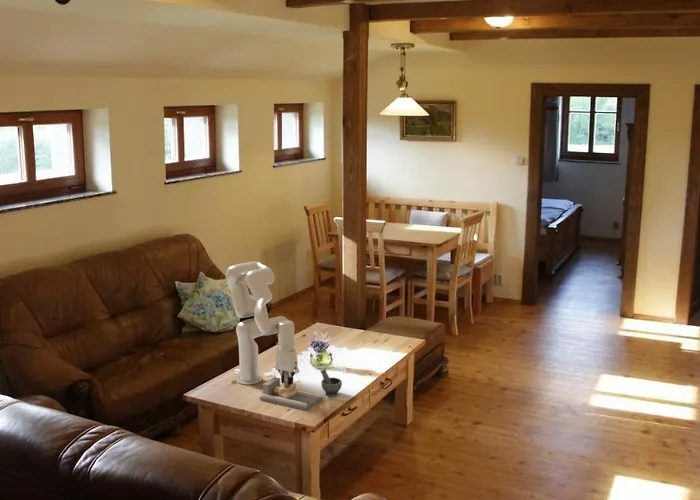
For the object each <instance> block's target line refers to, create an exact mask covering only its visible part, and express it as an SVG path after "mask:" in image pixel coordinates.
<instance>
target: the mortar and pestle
mask: <svg viewBox="0 0 700 500" xmlns="http://www.w3.org/2000/svg"><path fill="white" fill-rule="evenodd" d="M320 373H321V376H322V380H321V381H320V383H321V388H322V389H323V391H324V395H325V396H326V397H328V398H335V397H337V396H339V391H340V390H341V388H342V385H343V381H342V379H340V378H337V377H330V376H329V374H328V372H327V369H325V368H324V369H321V370H320Z"/></svg>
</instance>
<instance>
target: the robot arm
mask: <svg viewBox="0 0 700 500" xmlns="http://www.w3.org/2000/svg"><path fill="white" fill-rule="evenodd" d="M275 278H276V277H275V273H274V272H273V270H272V269H271V268H270V267H269V266H267V265H265V264H262V263H261V262H259V261H249V262H243V263H237V264H234V265H231V266H229V267H228V268H227V269H226V272H225V280H226V283H227V286H228V288H229V290H230V293H231V298H232V303H233V308H234V311H235V314H236V316H237V317H238V318H241V319H245V318H249V317H253V316H254V318H249V319H245V320H242V321H241V322H239V323H238V324H237V325H236V328H235V329H236V330H235V331H236V337H237V341H238V357H239V360H238V361H239V369H237V368H236V369H235V370H234V372H233V374H234V375H237V378H236V381H237V383H238V384H241V385H245V386H246V385H256V384H258V383H261V382H262V380H263V376H262V375H260V372H259V368H260V367H259V346H258V343H257V342H256V341H255V340H254V339H256V338H258V337H262V336H270V335H275V334H277V337H278V342H276V346H278V347H277V349H276V354H275V360H274V362H275V366H274V369H275V370H276V371H277V372H278V373H279V375H280V383H281V385H284V371H287V372H289V377H288V385H291V384H292V383H294V376H295V375H296V374H299V373H300V369H299V367H298V355H297V350H296V348H295V347H296V346H295V345H296V344H295V323H294V322H293V320H289V319H288V318H287V317H286V316H284V315H283V316H282V315H278V316H275V317H270V318H269V313H268V309H267V304H268V303H269V302H271V300H272V299H273V294H272V292H271V289H270V288H269V285H272V284H273V283H274V282H275ZM244 281H245V282H246V284H247V285H246V284H245V283H244ZM247 286H248V287H247ZM249 290H250V292H251V295H252V296H250V292H249Z"/></svg>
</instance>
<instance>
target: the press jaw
mask: <svg viewBox="0 0 700 500" xmlns="http://www.w3.org/2000/svg"><path fill="white" fill-rule="evenodd" d="M288 377H289V372H287V371H284V383H283V385H281V386H280V388H279V397H281V398H285V399H288V398H290V397H291V396H293V395H295V394H296V390H297V384H296V383H294V382H293V383H292V384H291V385H288Z"/></svg>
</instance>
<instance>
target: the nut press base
mask: <svg viewBox="0 0 700 500" xmlns="http://www.w3.org/2000/svg"><path fill="white" fill-rule="evenodd" d="M280 387H281V377H276V376H274V377H272V378H270V379H269V380H267V381H266V382H264V383H263V384H262V395H261V396H259V400H260V401H263V402H266V403H272V404H276V405H279V406H284V407H289V408H292V409H297V410H301V411H304V412H305V411H306V412H307V411H309V410H310V409H312V408H313V407H314V406H316V405H317V404H319V403H321V402H322V401H323V397H322V396H320V395H319V394H315V393H311V392H307V391H301V390H297V389H296V394H295V395H293V396H291V397H290V398H288V399H285V398H281V397H279V388H280Z"/></svg>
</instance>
